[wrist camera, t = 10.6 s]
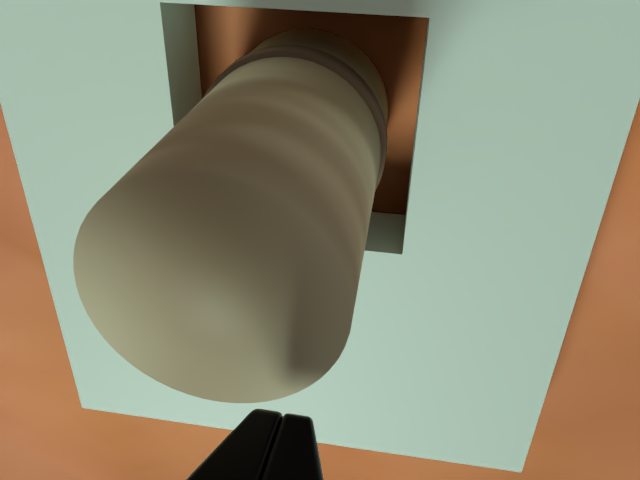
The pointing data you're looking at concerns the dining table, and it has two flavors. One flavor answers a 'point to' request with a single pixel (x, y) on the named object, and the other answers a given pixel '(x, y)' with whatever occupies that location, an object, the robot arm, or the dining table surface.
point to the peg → (244, 226)
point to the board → (384, 228)
